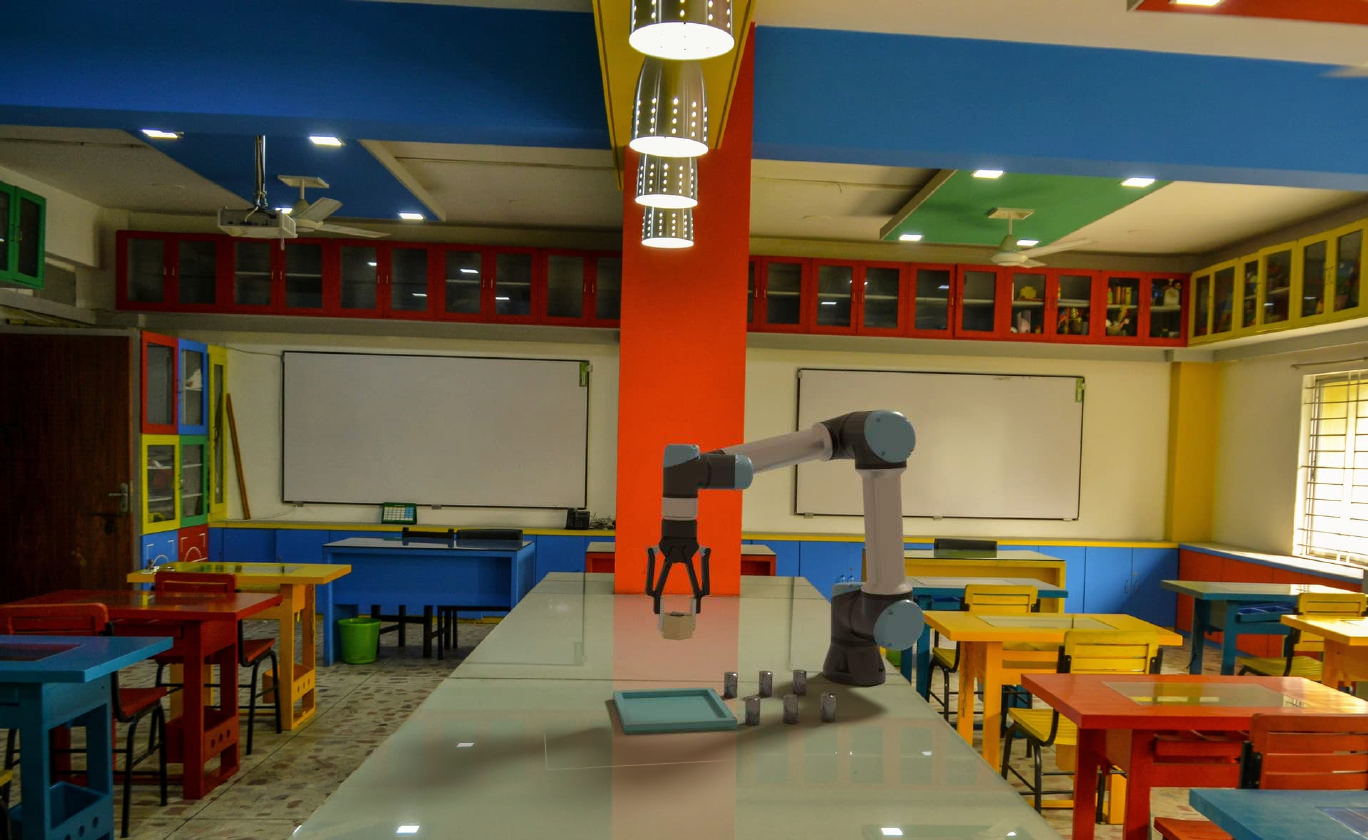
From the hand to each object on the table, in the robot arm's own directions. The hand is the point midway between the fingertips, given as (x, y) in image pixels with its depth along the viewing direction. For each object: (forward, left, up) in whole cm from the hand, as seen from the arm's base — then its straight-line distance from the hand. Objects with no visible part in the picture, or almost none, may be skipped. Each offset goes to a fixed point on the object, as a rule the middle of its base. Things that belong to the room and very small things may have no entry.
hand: (676, 629), depth 173 cm
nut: (0, 0, -1) cm, 1 cm away
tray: (+1, 0, -17) cm, 17 cm away
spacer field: (-22, -1, -17) cm, 28 cm away
